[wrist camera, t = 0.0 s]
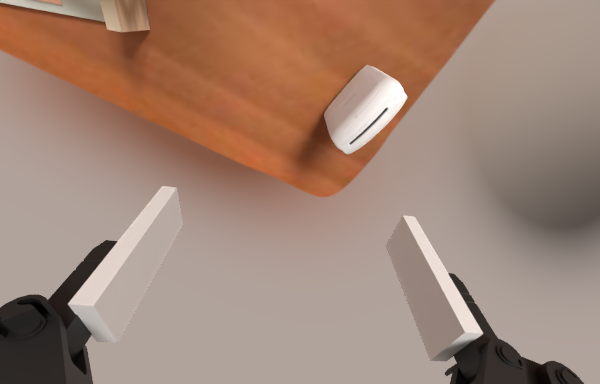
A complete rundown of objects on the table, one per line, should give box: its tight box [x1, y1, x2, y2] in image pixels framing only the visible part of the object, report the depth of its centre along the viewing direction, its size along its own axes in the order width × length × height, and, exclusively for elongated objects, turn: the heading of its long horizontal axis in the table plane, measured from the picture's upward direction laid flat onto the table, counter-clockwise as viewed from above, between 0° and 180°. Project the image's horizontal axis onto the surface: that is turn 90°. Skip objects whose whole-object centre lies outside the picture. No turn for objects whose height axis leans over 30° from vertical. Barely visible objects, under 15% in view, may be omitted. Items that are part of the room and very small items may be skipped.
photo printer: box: [324, 65, 407, 154], centre depth 32 cm, size 10×4×12 cm, turn 140°
